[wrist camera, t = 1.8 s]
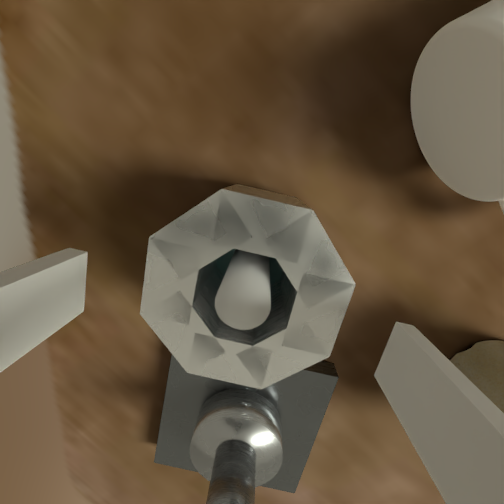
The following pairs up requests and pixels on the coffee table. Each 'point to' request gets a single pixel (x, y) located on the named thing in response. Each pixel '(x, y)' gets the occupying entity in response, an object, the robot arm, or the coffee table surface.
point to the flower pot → (484, 368)
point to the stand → (245, 288)
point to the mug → (464, 103)
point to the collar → (282, 291)
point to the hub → (243, 429)
